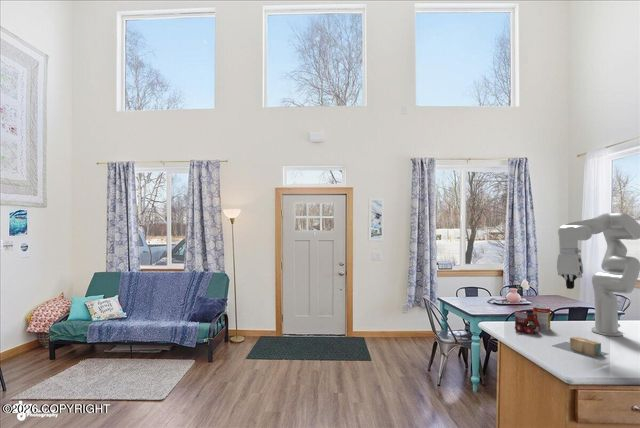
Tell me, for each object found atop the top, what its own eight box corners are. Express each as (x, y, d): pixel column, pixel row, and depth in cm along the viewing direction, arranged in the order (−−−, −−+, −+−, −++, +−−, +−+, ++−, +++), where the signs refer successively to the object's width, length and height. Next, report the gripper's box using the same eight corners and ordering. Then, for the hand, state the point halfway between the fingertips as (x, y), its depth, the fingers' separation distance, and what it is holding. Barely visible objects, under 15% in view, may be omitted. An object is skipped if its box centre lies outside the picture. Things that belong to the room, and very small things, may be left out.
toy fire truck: (536, 336, 184) (536, 316, 184) (511, 330, 194) (511, 311, 194) (542, 334, 188) (542, 314, 188) (517, 328, 198) (517, 309, 198)
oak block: (576, 336, 167) (601, 342, 158) (576, 347, 167) (601, 354, 158) (570, 337, 165) (595, 344, 156) (570, 348, 165) (595, 356, 156)
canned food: (547, 327, 200) (546, 305, 200) (552, 331, 192) (552, 308, 193) (531, 326, 202) (531, 304, 202) (536, 330, 194) (536, 308, 194)
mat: (565, 342, 175) (565, 341, 175) (609, 354, 159) (609, 353, 159) (551, 346, 169) (551, 345, 169) (594, 359, 153) (594, 358, 153)
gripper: (589, 251, 173) (591, 289, 173) (557, 249, 186) (558, 285, 186) (581, 253, 170) (582, 292, 170) (548, 251, 183) (550, 287, 183)
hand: (570, 288), depth 178 cm, fingers closed
